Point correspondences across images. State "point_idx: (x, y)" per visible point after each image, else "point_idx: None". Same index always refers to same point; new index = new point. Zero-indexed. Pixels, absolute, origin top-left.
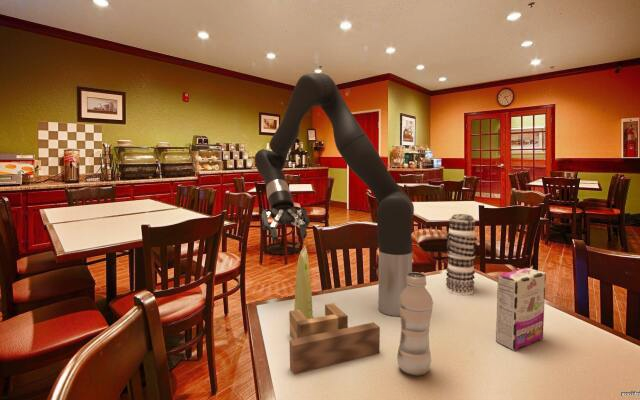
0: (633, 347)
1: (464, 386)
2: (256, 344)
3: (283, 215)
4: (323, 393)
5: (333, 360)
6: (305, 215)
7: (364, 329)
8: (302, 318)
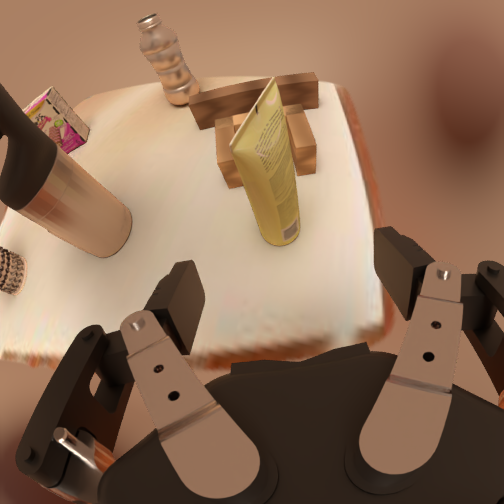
0: None
1: None
2: (369, 158)
3: (345, 412)
4: None
5: None
6: (63, 384)
7: (211, 91)
8: (293, 119)
